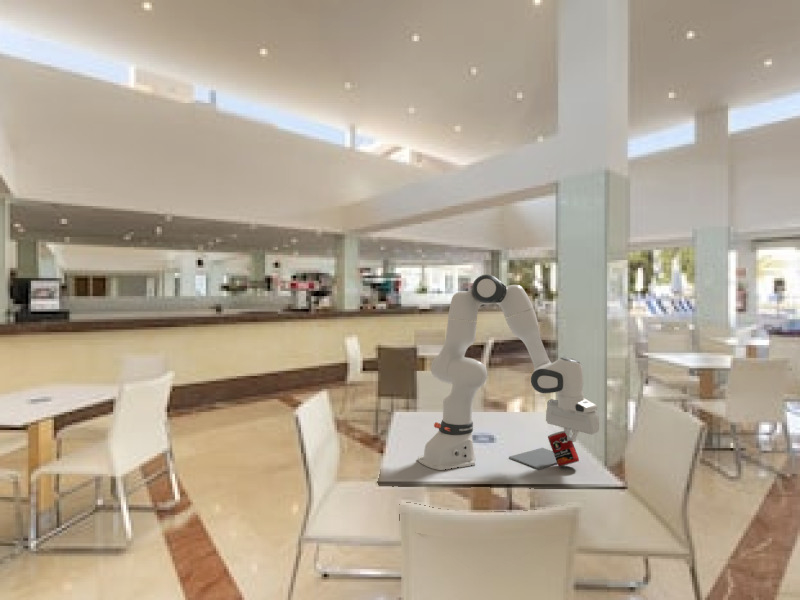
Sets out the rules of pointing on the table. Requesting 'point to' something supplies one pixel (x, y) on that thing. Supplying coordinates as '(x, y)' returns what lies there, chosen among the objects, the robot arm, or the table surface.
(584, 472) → the table surface
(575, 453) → the canned food
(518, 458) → the mat
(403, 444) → the table surface
